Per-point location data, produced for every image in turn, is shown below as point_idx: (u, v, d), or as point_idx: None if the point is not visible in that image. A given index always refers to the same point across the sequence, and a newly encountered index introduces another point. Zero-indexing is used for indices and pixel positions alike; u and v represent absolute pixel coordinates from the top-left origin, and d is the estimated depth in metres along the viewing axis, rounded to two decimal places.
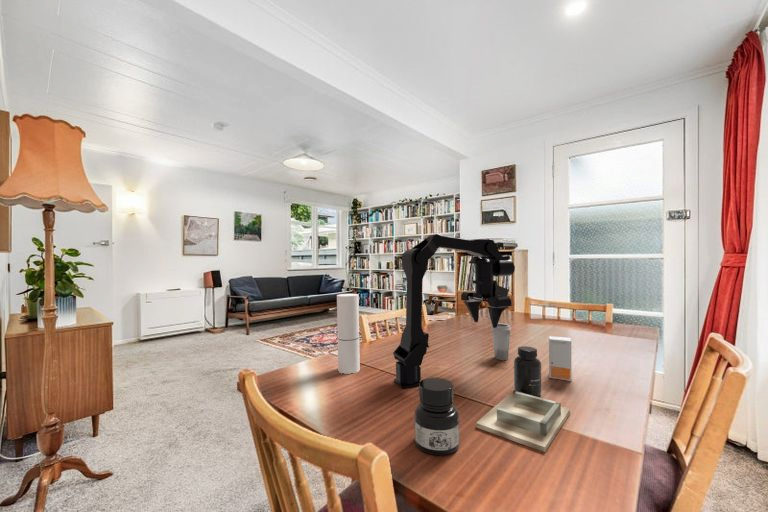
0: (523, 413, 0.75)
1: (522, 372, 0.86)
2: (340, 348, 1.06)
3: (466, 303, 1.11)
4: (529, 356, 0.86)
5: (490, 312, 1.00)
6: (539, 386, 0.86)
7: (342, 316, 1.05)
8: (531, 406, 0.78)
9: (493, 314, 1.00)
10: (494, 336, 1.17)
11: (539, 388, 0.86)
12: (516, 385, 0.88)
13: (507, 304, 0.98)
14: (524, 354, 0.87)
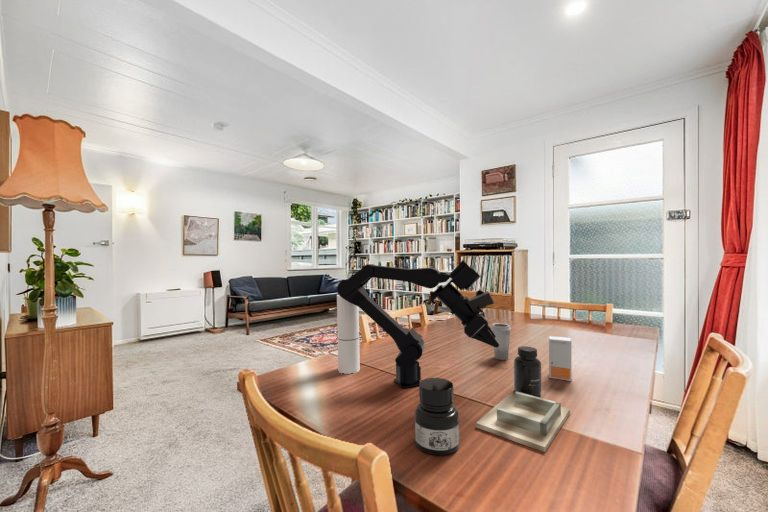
0: (523, 413, 0.75)
1: (522, 372, 0.86)
2: (340, 348, 1.06)
3: None
4: (529, 356, 0.86)
5: None
6: (539, 386, 0.86)
7: (342, 316, 1.05)
8: (531, 406, 0.78)
9: (480, 339, 0.86)
10: None
11: (539, 388, 0.86)
12: (516, 385, 0.88)
13: (479, 325, 0.83)
14: (524, 354, 0.87)
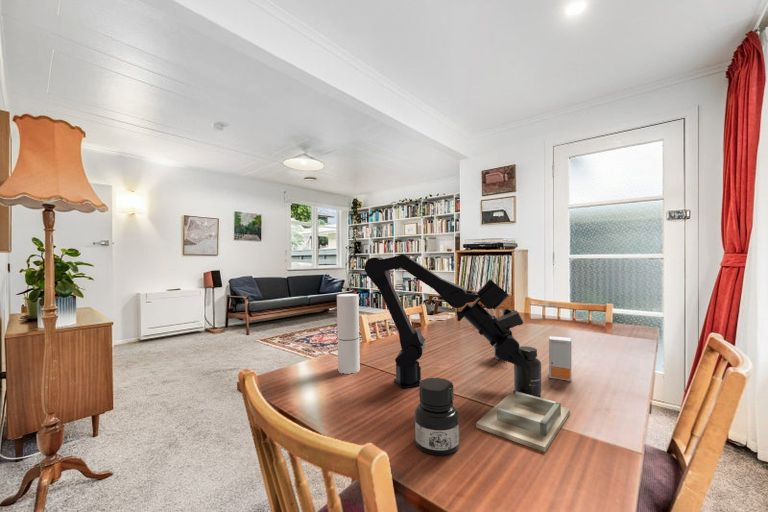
0: (523, 413, 0.75)
1: (522, 372, 0.86)
2: (340, 348, 1.06)
3: None
4: (529, 356, 0.86)
5: None
6: (539, 386, 0.86)
7: (342, 316, 1.05)
8: (531, 406, 0.78)
9: (511, 361, 0.84)
10: None
11: (539, 388, 0.86)
12: (516, 385, 0.88)
13: (511, 348, 0.81)
14: (524, 354, 0.87)
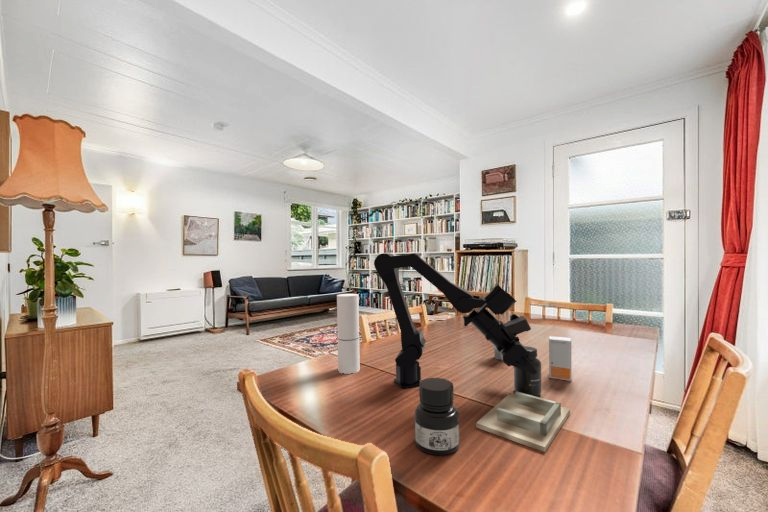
0: (523, 413, 0.75)
1: (522, 372, 0.86)
2: (340, 348, 1.06)
3: None
4: (529, 356, 0.86)
5: None
6: (539, 386, 0.86)
7: (342, 316, 1.05)
8: (531, 406, 0.78)
9: (518, 366, 0.85)
10: None
11: (539, 388, 0.86)
12: (516, 385, 0.88)
13: (519, 354, 0.81)
14: None
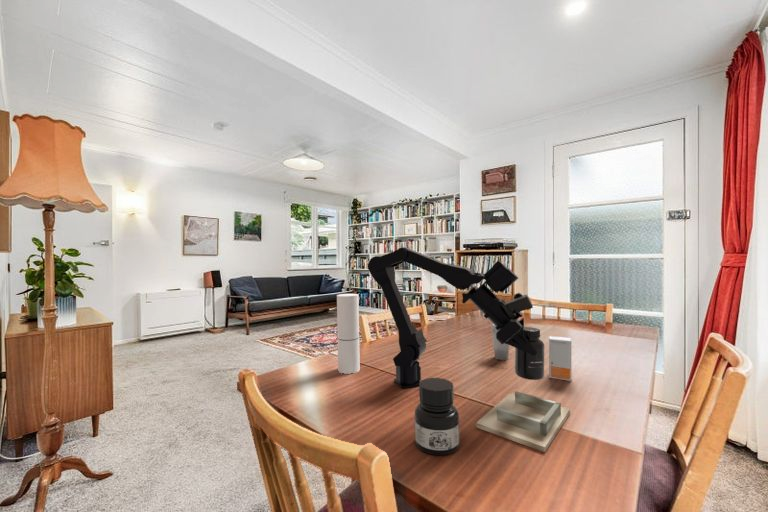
0: (523, 413, 0.75)
1: (521, 353, 0.81)
2: (340, 348, 1.06)
3: None
4: (530, 336, 0.81)
5: None
6: (541, 369, 0.80)
7: (342, 316, 1.05)
8: (531, 406, 0.78)
9: (515, 345, 0.80)
10: (494, 336, 1.17)
11: (540, 371, 0.80)
12: (516, 367, 0.83)
13: (513, 332, 0.76)
14: (525, 334, 0.82)
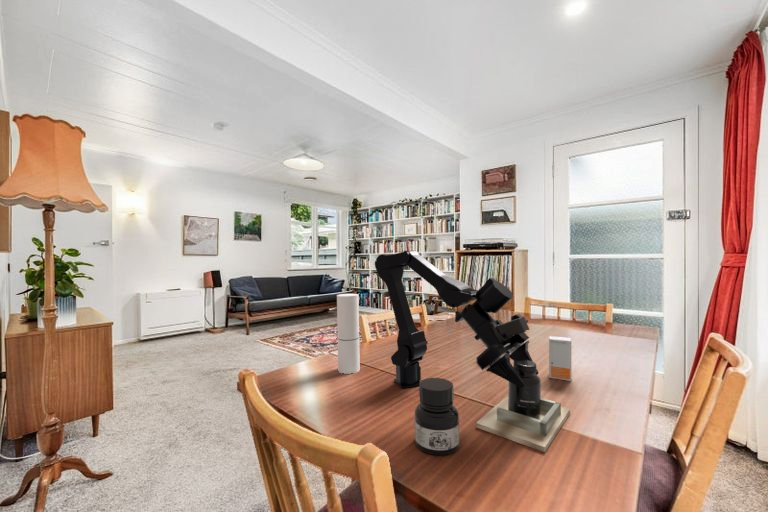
0: None
1: (512, 388, 0.73)
2: (340, 348, 1.06)
3: None
4: (521, 371, 0.73)
5: None
6: (533, 410, 0.71)
7: (342, 316, 1.05)
8: None
9: (500, 374, 0.72)
10: None
11: (532, 412, 0.71)
12: (508, 403, 0.75)
13: (491, 358, 0.69)
14: (517, 368, 0.74)
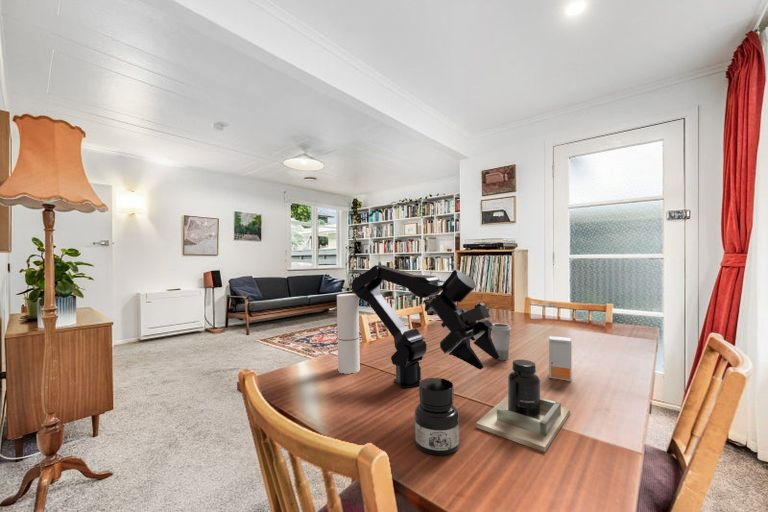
0: None
1: (511, 389, 0.73)
2: (340, 348, 1.06)
3: None
4: (520, 372, 0.73)
5: None
6: (533, 410, 0.71)
7: (342, 316, 1.05)
8: None
9: (461, 357, 0.78)
10: (494, 336, 1.17)
11: (532, 412, 0.71)
12: (508, 403, 0.75)
13: (452, 342, 0.76)
14: (516, 368, 0.74)
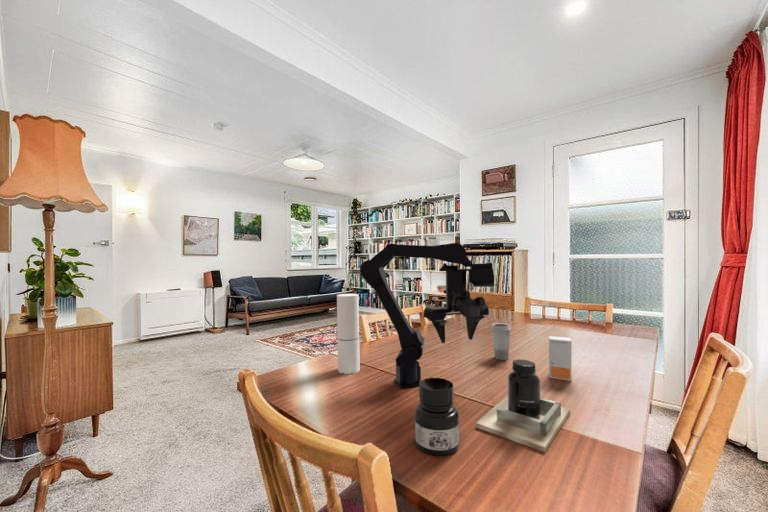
0: None
1: (511, 389, 0.73)
2: (340, 348, 1.06)
3: None
4: (520, 371, 0.73)
5: None
6: (533, 410, 0.71)
7: (342, 316, 1.05)
8: None
9: (435, 326, 0.93)
10: (494, 336, 1.17)
11: (532, 412, 0.71)
12: (508, 403, 0.75)
13: (429, 317, 0.89)
14: (516, 368, 0.74)
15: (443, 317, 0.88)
